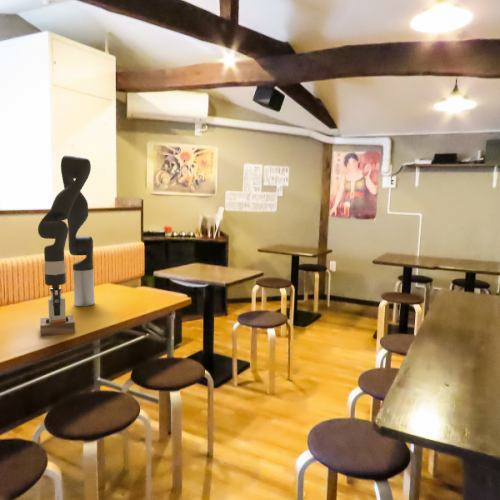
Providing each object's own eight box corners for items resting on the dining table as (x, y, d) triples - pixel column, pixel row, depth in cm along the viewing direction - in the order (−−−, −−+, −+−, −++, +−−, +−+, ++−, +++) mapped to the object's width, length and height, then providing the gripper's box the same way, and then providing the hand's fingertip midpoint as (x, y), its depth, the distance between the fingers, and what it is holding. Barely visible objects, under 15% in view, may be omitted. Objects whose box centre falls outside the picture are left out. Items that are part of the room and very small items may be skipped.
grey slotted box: (40, 328, 174) (40, 318, 174) (73, 324, 179) (72, 315, 179) (40, 336, 164) (40, 326, 164) (74, 332, 169) (74, 322, 169)
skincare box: (49, 330, 168) (48, 299, 167) (49, 327, 172) (47, 297, 171) (66, 328, 171) (65, 298, 170) (65, 325, 175) (64, 296, 173)
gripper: (44, 269, 173) (46, 309, 176) (44, 275, 161) (46, 318, 163) (64, 268, 177) (66, 307, 179) (66, 274, 164) (68, 316, 166)
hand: (56, 312), depth 171 cm, fingers open, 8 cm apart
